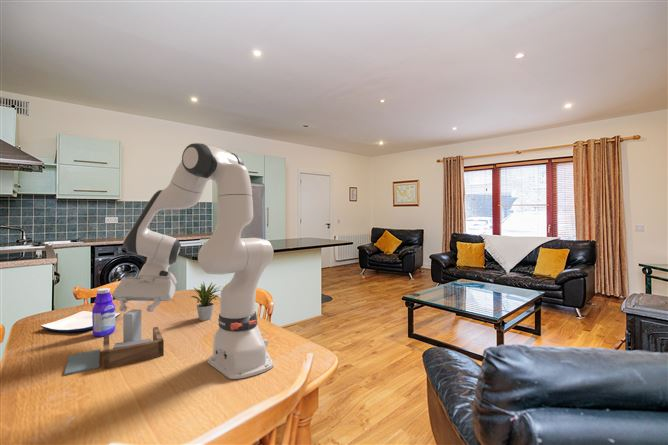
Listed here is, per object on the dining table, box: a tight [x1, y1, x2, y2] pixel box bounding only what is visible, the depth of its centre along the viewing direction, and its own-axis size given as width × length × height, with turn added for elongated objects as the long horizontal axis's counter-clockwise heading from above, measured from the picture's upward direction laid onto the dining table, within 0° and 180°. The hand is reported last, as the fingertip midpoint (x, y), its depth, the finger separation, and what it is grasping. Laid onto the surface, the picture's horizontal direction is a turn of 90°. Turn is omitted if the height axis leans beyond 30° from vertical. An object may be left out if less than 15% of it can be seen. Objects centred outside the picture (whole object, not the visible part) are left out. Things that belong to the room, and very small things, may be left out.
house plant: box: [190, 281, 223, 322], centre depth 138 cm, size 14×14×16 cm
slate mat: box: [64, 349, 101, 376], centre depth 98 cm, size 14×8×1 cm, turn 36°
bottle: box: [91, 287, 116, 338], centre depth 120 cm, size 7×6×17 cm
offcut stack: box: [112, 338, 152, 349], centre depth 102 cm, size 4×12×5 cm, turn 116°
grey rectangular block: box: [122, 308, 142, 342], centre depth 107 cm, size 3×5×13 cm, turn 1°
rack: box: [102, 326, 165, 370], centre depth 104 cm, size 15×16×5 cm
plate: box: [40, 310, 122, 333], centre depth 130 cm, size 20×20×3 cm
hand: (135, 310), depth 109 cm, fingers open, 8 cm apart
